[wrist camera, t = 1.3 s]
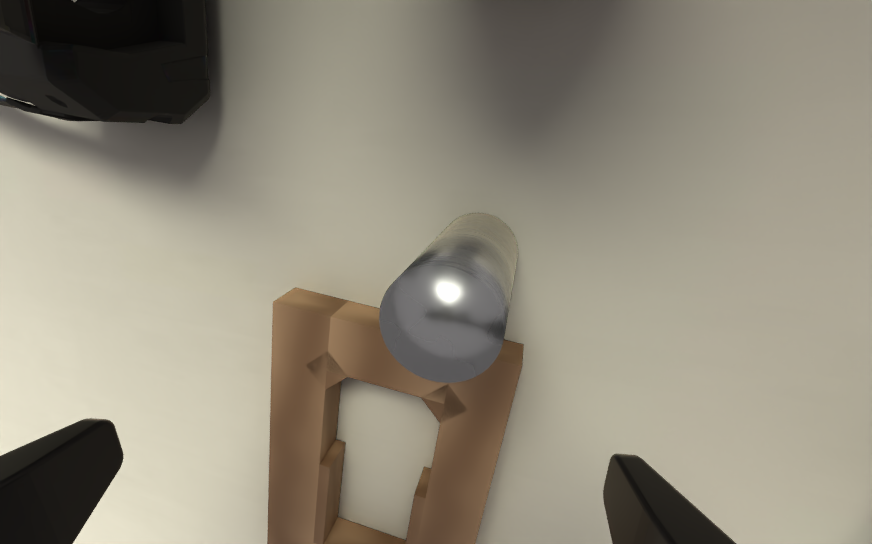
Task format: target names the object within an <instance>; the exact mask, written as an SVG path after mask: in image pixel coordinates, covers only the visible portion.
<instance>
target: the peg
mask: <svg viewBox="0 0 872 544" xmlns="http://www.w3.org/2000/svg"><path fill="white" fill-rule="evenodd" d="M517 258H518V246H517V242H516V239H515V236H514V234H513V233H512V231H511V230H510V228H509V227H508V226H507V225H506V224H505V223H504V222H503V221H501V220H500V219H498V218H496V217H494V216H492V215H489V214H484V213H471V214H467V215H464V216H461V217H459V218H457V219H456V220H454V221H453V222H452V223H451V224H450V225H449V226H448V227H447V228H446V229H445V230H444V231H443V232H442V233H441V234H440V235H439V236H438V237H437V238H436V239H435V240H434V241H433V242H432V243H431V244H430V245H429V246H428V247H427V248H426V250H425V251H424V252H423V253H422V254H421V255H420V256H419V257H418V258H417V259H416V260H415V261H414V262H413V263H412V264H411V265H410V266H409V267H408V268H407V269H406V270H405V271H404V272H403V273H402V274H401V275H400V276H399V277H398V278H397V279H396V280H395V281H394V282H393V284H392V285H391V286H390V287H389V289H388V290H387V291H386V293H385V295H384V297H383V300H382V303H381V306H380V312H379V324H380V330H381V334H382V337H383V340H384V342H385V344H386V346H387V348H388V350H389V351H390V353H391V354H392V355H393V357H394V358H395V359H396V360H397V361H398V362H399V363H400V364H401V365H402V366H403V367H405V368H406V369H407V370H409V371H410V372H412V373H414V374H415V375H417V376H419V377H422V378H424V379H427V380H430V381H435V382H442V383H455V382H462V381H465V380H469V379H471V378H474V377H476V376H478V375H479V374H481V373H483V372H484V371H485V370H486V369H488V368H489V367H490V366H491V365H492V363H493V362H494V361H495V359H496V358H497V356H498V354H499V352H500V350H501V348H502V344H503V340H504V334H505V328H506V322H507V317H508V311H509V305H510V299H511V293H512V287H513V282H514V276H515V270H516V264H517Z"/></svg>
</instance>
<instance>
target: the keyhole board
mask: <svg viewBox="0 0 872 544" xmlns="http://www.w3.org/2000/svg"><path fill="white" fill-rule="evenodd" d="M379 312H380V309H379V308H375V307H371V306H367V305H363V304H359V303H355V302H351V301H347V300H343V299H339V298H335V297H331V296H327V295H323V294H319V293H315V292H311V291H307V290H303V289H299V288H294V289H292V290H291V291H289V292H288V293H286V294H285V295H283V296H281V297H280V298H278V299H277V300H275V301H274V302H273V325H272V369H271V412H270V455H269V499H268V542H267V544H475V542H476V538H477V534H478V531H479V527H480V523H481V519H482V515H483V512H484V508H485V504H486V500H487V497H488V493H489V489H490V485H491V481H492V478H493V474H494V470H495V466H496V462H497V459H498V455H499V451H500V447H501V444H502V440H503V436H504V432H505V428H506V425H507V421H508V417H509V413H510V409H511V406H512V402H513V398H514V394H515V391H516V387H517V383H518V379H519V375H520V372H521V368H522V359H523V344H519V343H515V342H511V341H507V340H503V344H502V348H501V350H500V352H499V354H498V356H497V358H496V359H495V361H494V362H493V363H492V365H491V366H490V367H489V368H488V369H486V370H485V371H484V372H483V373H481V374H479V375H478V376H476V377H474V378H471V379H469V380H465V381H462V382H455V383H442V382H435V381H430V380H427V379H424V378H422V377H419V376H417V375H415V374H414V373H412V372H410V371H409V370H407V369H406V368H405V367H403V366H402V365H401V364H400V363H399V362H398V361H397V360H396V359H395V358H394V357H393V355H392V354H391V353H390V351H389V350H388V348H387V346H386V344H385V342H384V340H383V337H382V334H381V330H380V324H379ZM347 377H350V378H354V379H357V380H361V381H364V382H368V383H371V384H375V385H379V386H382V387H386V388H389V389H393V390H396V391H400V392H403V393H407V394H410V395H414V396H418V397H421V398H422V399H423V401H424V402H425V403H426V405H427V406H428V408H429V409H430V410H431V412H432V413H433V414H434V416H435V417H436V418H437V420H438V421H439V422H440V427H439V432H438V437H437V442H436V447H435V453H434V458H433V463H432V468H431V469H429V468H426V467H424V469H423V472H422V474H421V477H420V480H419V483H418V486H417V489H416V492H415V495H414V500H413V506H412V511H411V516H410V522H409V527H408V533H407V538H406V540H403V539H400V538H397V537H394V536H391V535H389V534H386V533H383V532H380V531H377V530H374V529H371V528H368V527H365V526H362V525H359V524H356V523H353V522H350V521H347V520H345V519H342V518H339V517H338V510H339V500H340V490H341V480H342V471H343V461H344V451H345V442H342V441H339V440H336V433H337V422H338V411H339V400H340V389H341V380H343V379H345V378H347Z"/></svg>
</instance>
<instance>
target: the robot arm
mask: <svg viewBox="0 0 872 544" xmlns="http://www.w3.org/2000/svg"><path fill="white" fill-rule="evenodd" d="M122 462H123V451H122V448H121V444H120V441H119V438H118V435H117V432H116V429H115V426H114V424H113V423H112V422H111V421H110V420H106V419H92V418H90V419H84V420H81V421H79V422H76V423H74V424H72V425H69V426H67V427H65V428H63V429H60V430H58V431H56V432H54V433H51V434H49V435H47V436H44V437H42V438H40V439H38V440H35V441H33V442H31V443H29V444H26V445H24V446H22V447H19V448H17V449H15V450H13V451H10V452H8V453H6V454H4V455H1V456H0V544H72V543H73V542H74V540H75V539H76V537H77V536H78V534H79V533H80V531H81V529H82V528H83V526H84V525H85V523H86V521H87V520H88V518H89V517H90V515H91V513H92V512H93V510H94V509H95V507H96V506H97V504H98V502H99V501H100V499H101V498H102V496H103V494H104V493H105V491H106V490H107V488H108V486H109V485H110V483H111V482H112V480H113V479H114V477H115V475H116V474H117V472H118V471H119V469H120V467H121V465H122ZM603 498H604V505H605V510H606V515H607V519H608V524H609V528H610V533H611V538H612V542H613V544H736V543H735V542H734V541H733V540H732V539H731V538H730V537H728V536H727V535H726V534H725V533H724V532H723V531H722V530H721V529H720V528H718V527H717V526H716V525H715V524H714V523H713V522H712V521H711V520H709V519H708V518H707V517H706V516H705V515H704V514H703V513H702V512H701V511H699V510H698V509H697V508H696V507H695V506H694V505H693V504H692V503H691V502H689V501H688V500H687V499H686V498H685V497H684V496H683V495H682V494H680V493H679V492H678V491H677V490H676V489H675V488H674V487H673V486H672V485H670V484H669V483H668V482H667V481H666V480H665V479H664V478H663V477H662V476H660V475H659V474H658V473H657V472H656V471H655V470H654V469H653V468H652V467H650V466H649V465H648V464H647V463H646V462H645V461H644V460H643V459H641V458H640V457H638V456H636V455H627V454H614V455H613V456H612V457H611V459H610V462H609V467H608V471H607V476H606V480H605V485H604V490H603Z"/></svg>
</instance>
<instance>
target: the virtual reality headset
mask: <svg viewBox="0 0 872 544" xmlns="http://www.w3.org/2000/svg"><path fill="white" fill-rule="evenodd" d="M207 55H208V48H207V29H206V12H205V0H77V1H76V2H73V1H72V0H0V93H2V94H4V95H7V96H9V97H11V98H14V99H17V100H21V101H25V102H30V103H32V104H34V105H35V106H34V105H31V104H27V103H24V102H21V101H17V100H14V99H11V98H8V97H7V98H4V97H2V96H0V105H4V106H8V107H13V108H19V109H21V110H23V111H27V112H31V113H36V114H41V115H46V116H50V117H55V118H58V119H62V120H68V121H104V122H134V123H145V122H146V121H147V120H151V121H157V122H163V123H168V124H182V123H183V122H184V121H185V120H186V119H187V118H188V117H190V116H191V115H192V114H193V113H194V112H195V111H196V110H197V109H198V108H199V107H200V106H201V105H203V104H204V103H205V102H206V101H207V100H208V99H209V97H210V82H209V80H208V72H207V57H206V56H207Z"/></svg>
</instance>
